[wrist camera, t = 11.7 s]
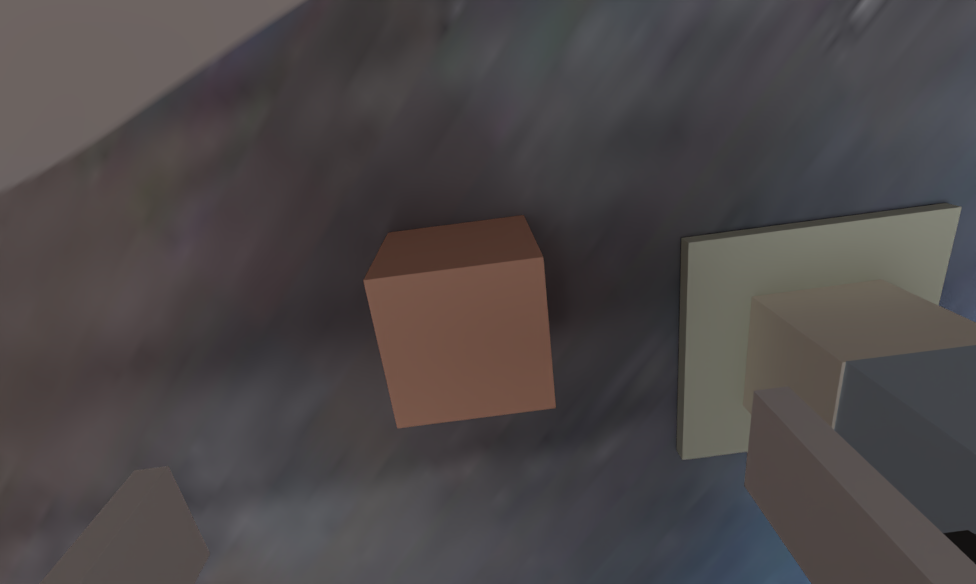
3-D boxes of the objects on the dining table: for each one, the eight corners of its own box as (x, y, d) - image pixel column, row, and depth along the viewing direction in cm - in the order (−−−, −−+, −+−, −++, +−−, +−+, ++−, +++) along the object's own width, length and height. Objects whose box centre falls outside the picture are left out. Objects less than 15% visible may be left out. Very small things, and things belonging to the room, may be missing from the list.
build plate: (896, 421, 27) (908, 430, 27) (676, 450, 27) (682, 460, 27) (945, 203, 23) (961, 206, 22) (681, 237, 23) (688, 242, 22)
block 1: (535, 335, 25) (555, 407, 19) (412, 351, 25) (397, 428, 19) (523, 214, 22) (543, 257, 17) (388, 232, 22) (363, 280, 17)
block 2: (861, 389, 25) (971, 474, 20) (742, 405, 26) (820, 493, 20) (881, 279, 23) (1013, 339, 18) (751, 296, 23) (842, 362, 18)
